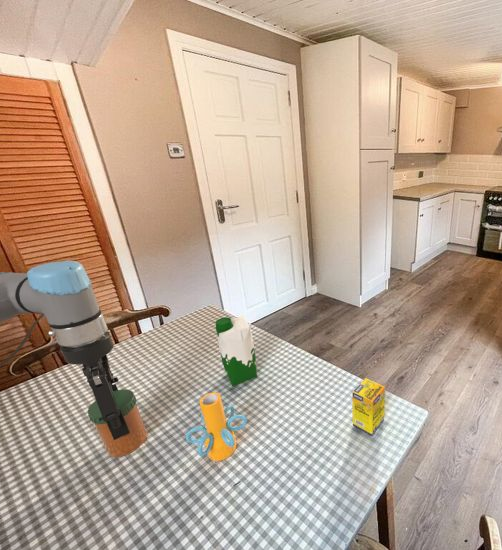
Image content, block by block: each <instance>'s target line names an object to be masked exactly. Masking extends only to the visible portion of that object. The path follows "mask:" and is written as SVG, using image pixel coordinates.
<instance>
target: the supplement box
mask: <svg viewBox="0 0 502 550" xmlns="http://www.w3.org/2000/svg"><path fill="white" fill-rule="evenodd" d="M351 393H352V394H351V395H352V397H351V398H352V399H351V400H352V426H353V427H355V428H356V429H358V430H360V431H362V432H364V433H365V434H367V435H368V436H371V437H374V436H373V435H374V434H375V433H376V431H377V430H378V428H380V426H381V425H382V424H383V422H384V420H385V402H386V401H385V400H386V399H385V397H386V386H384V385H382V384H380V383H377V382H375V381H374V380H371V379H369V378H364V379H363V380H362V382H361V383H359V385H358V386H357V387H355V389H353V390H352V392H351Z"/></svg>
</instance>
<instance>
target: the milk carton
mask: <svg viewBox="0 0 502 550" xmlns="http://www.w3.org/2000/svg"><path fill="white" fill-rule="evenodd" d="M214 325H215V331H216V338H217V345H218V349H219V354H220V357H221V362H222V366H223V369H224V371H225V373H226V376H227V379H228V380H229V382H230V385H231V387H235V386H238V385H241V384H244V383H246V382H248V381H251V380H254V379H256V378H257V377H258V373H257V357H256V351H255V346H254V340H253V333H252V329H251V326H250V324H249V323H248V322H247V320H246V318H245V317H244V315H242V316H238V317H232V318H231V317H227V316H225V317H220V318H218V319H216V320H215V324H214Z"/></svg>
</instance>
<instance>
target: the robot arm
mask: <svg viewBox="0 0 502 550" xmlns="http://www.w3.org/2000/svg"><path fill="white" fill-rule="evenodd" d="M23 314H35V315H36V314H40V316H38V317H37V319H36V320H35V321H34V322H33V324H32V325H31V327H30V329H28V332H27V333H26V335H25V337H24V338H23V340H22V342H20V344H19V345H18V346H17V348H16V349H15V350H14V351H13V352H12V353H11V354H10V355H8V357H6V359H4V360H3V361H2V362H0V368H1V367H3V366H4V365H5V364H6V363H8V362H9V361H10V360H11V359H12V358H14V356H15V355H16V354H17V353H18V352H19V351H20V350H21V349H22V348H23V346H24V345H25V343H26V342H27V341H28V339H29V337H30V336H31V333H32V332H33V330H34V328H35V327H36V325H37V324H38V323H39V321H40V320H41V319H42V318H43V317H45V319H46V321H47V324H48V325H49V328H50V329H51V330H49V331H48V333H47V334H48V335H49V336H54V338H55V340H56V342H57V344H58V345H59V350H60V352H61V354H62V356H63V358H64V361H65V362H66V363H67V364H69V365H77V366H78V365H82V369H81V370H82V373H83V376H84V377H86V379H87V380H86V382H87V384H88V386H89V387H90V389H91V391H92V394H93V397H94V399H95V401H96V402H97V404H98V407H99V409H100V412H101V415H102V417H100V418H99V420H100V421H101V420H103V421H104V422H106V423H107V425H108V428H109V430H110V432H111V434H112V437H113V439H114V440H116V439H118V438H120V437H122V436H124V435H127V434H129V433H130V432H129V429H128V426H127V424H126V422H125V419H124V417H123V414H122V412H121V409H120V408H118V405H117V402H116V399H115V396H114V393H113V391H116V390H119V389H118V385H117V384H116V383H118V382H119V377H118V376H115V377H114V374H113V373H114V372H112V370H111V367H110V362H109V358H108V354H110V353H111V351H112V350H113V349H114V346H115V345H114V342H113V338H112V336H111V334H110V332H109V331H108V330H109V328H108V325H107V321H106V319H105V316H104V314H103V312H102V311H101V307H100V305H99V303H98V299H97V296H96V295H95V291H94V289H93V286H92V280H91V279H90V278H89V276H88V274H87V271H86V269H85V267H84V266H83V264H81V262H78V261H76V260H62V261H53V262H51V261H50V262H46V263H42V264H39V265H36V266H33V267H31V268H30V269H29V270H28V271H27V272H26V273H25V272H13V271H9V272H7V271H1V272H0V324H2V323H3V322H6V321H8V320H11V319H12V318H15V317H17V316H19V315H23Z"/></svg>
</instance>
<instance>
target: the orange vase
mask: <svg viewBox="0 0 502 550" xmlns="http://www.w3.org/2000/svg"><path fill="white" fill-rule="evenodd" d="M223 405H224V404H223V401H222V397H221V394H220V393H219V392H209V393H207V394H204V395H203V396H202V397H201V398H200V400H199V406H200V411H201V413H200V420H201V422H202V423H203V426H201V425H200V426H195V427H192V428H190V429H189V430H188V431H187V432H186V435H185V439H186V442H188V443H190V444H198V446H197V453H198V455H199V456H200V457H205V456H208V458H209V459H210V460H211V461H214V462H221V461H224V460H226V459H228V458H229V457H230V456H232V455H233V453H234V452H235V451H236V448H237V440H236V434H235V432H237V431H240V430H242V429H243V428H244V427H245V426H246V425H247V421H248V420H247V417H246V416H245V415H243V414H235V406H234V404H228V405H227V406H226V407H225V408H224V406H223ZM229 410H230V415H229V417H228V419H227V418H226V417H227V414H228V411H229ZM237 419H241V420H242V423H241V424H240V425H239V426H232V425H231V423H232V421H235V420H237ZM196 431H200V432H201V431H202V432H203V435H202V437H200V438H197V439H196V438H192V437H191V435H192V434H193V433H194V432H196ZM204 446H205V448H206V449H205V450H204V451H203V447H204Z"/></svg>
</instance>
